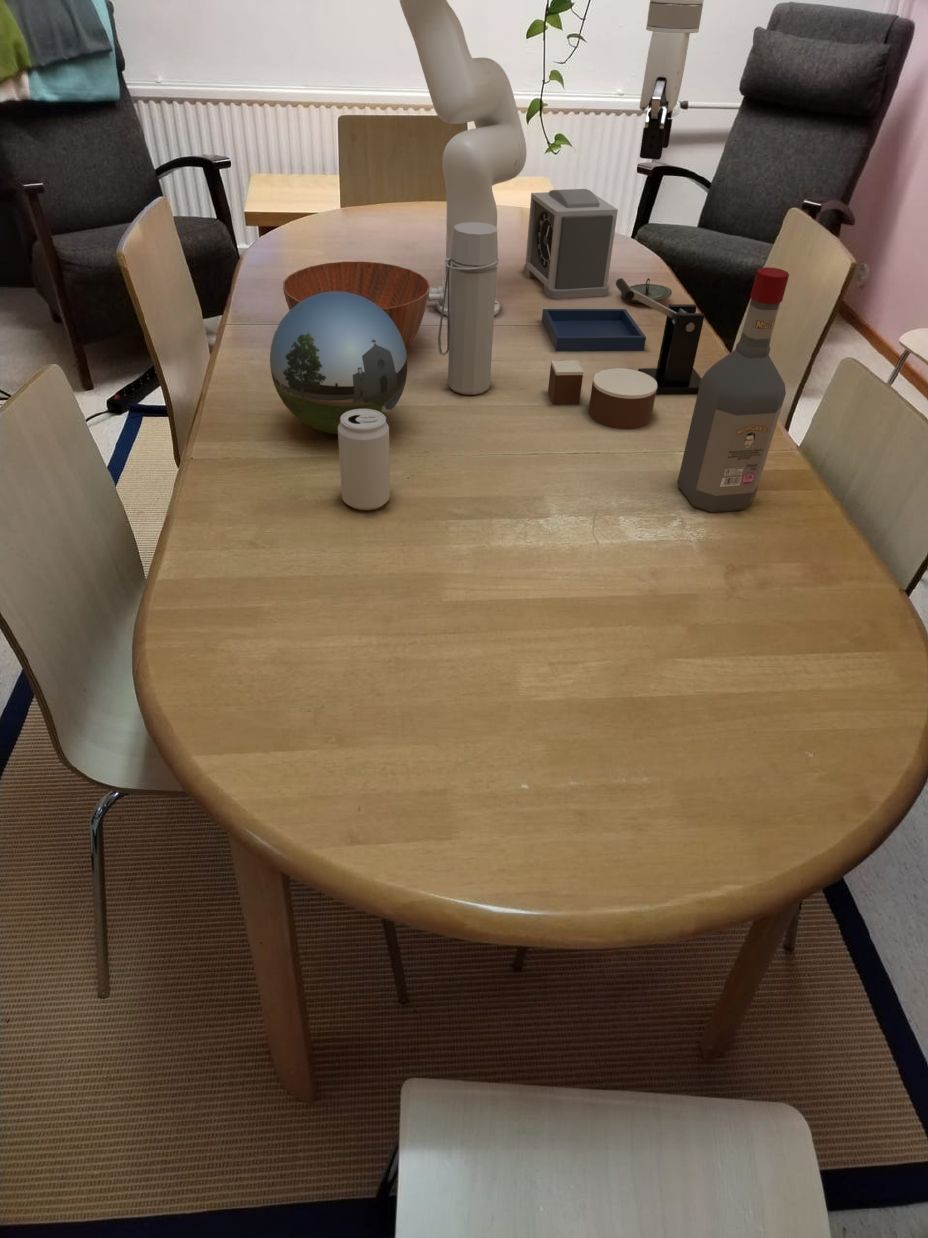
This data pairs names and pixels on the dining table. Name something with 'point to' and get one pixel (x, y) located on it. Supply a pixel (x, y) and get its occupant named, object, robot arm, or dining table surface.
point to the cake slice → (565, 382)
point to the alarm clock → (570, 242)
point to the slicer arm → (645, 300)
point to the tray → (592, 330)
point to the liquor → (737, 410)
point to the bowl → (367, 289)
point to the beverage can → (364, 458)
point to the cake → (622, 398)
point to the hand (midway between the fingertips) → (654, 152)
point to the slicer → (678, 353)
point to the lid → (651, 291)
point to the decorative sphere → (337, 359)
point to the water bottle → (470, 307)
